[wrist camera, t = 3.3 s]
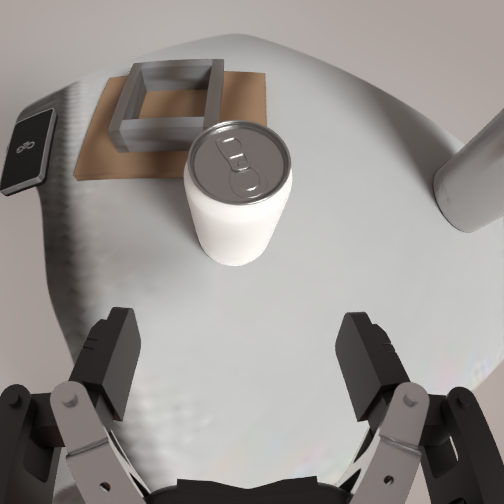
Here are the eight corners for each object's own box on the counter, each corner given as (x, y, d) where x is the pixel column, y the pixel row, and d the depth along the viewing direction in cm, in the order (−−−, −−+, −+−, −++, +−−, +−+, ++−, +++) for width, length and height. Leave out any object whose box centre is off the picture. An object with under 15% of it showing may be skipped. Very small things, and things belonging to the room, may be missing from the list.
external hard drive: (60, 115, 30) (54, 106, 28) (48, 186, 27) (40, 178, 25) (21, 131, 29) (15, 123, 27) (6, 200, 26) (-3, 193, 24)
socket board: (264, 80, 33) (268, 50, 28) (266, 180, 29) (273, 151, 24) (111, 84, 31) (101, 57, 26) (77, 180, 27) (57, 156, 22)
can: (213, 278, 26) (202, 231, 14) (188, 213, 27) (166, 133, 16) (280, 251, 27) (319, 189, 15) (252, 190, 28) (268, 104, 17)
